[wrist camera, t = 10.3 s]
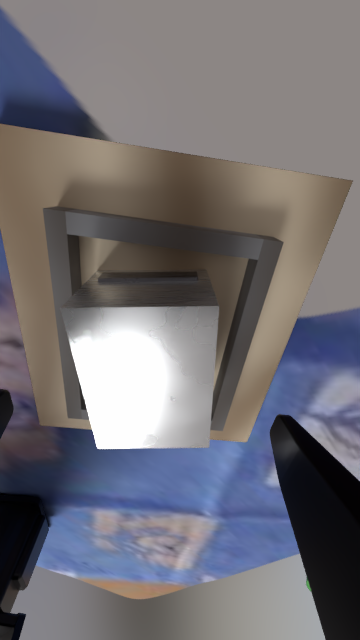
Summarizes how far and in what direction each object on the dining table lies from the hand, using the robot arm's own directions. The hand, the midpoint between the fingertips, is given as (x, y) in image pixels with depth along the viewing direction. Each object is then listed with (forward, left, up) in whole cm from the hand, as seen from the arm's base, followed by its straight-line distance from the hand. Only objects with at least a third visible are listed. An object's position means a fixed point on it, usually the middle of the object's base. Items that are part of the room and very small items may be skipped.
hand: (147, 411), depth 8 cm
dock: (0, 0, -6) cm, 6 cm away
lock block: (0, 0, -5) cm, 5 cm away
